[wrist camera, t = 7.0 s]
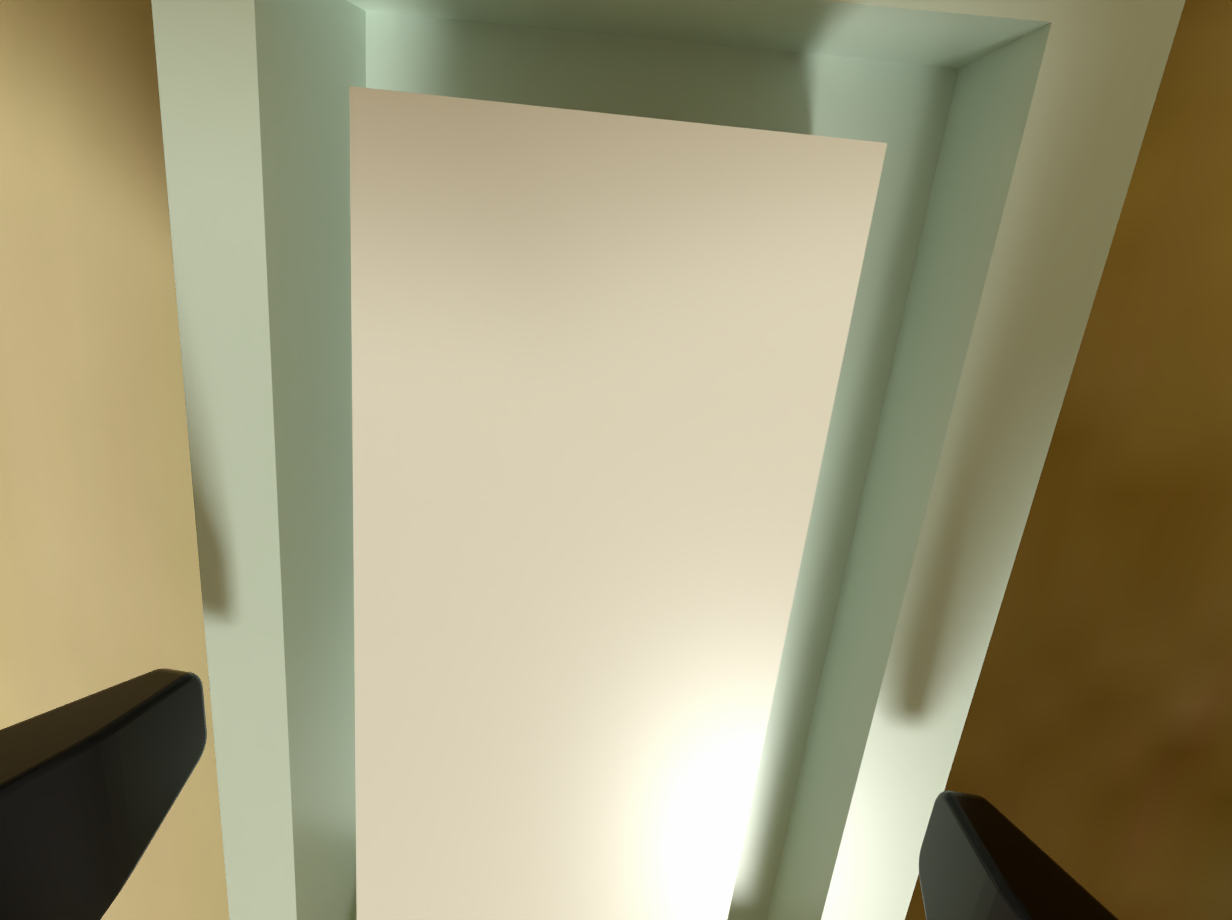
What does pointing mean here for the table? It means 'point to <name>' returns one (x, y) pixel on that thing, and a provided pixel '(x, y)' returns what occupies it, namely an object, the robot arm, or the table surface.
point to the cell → (580, 491)
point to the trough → (862, 412)
